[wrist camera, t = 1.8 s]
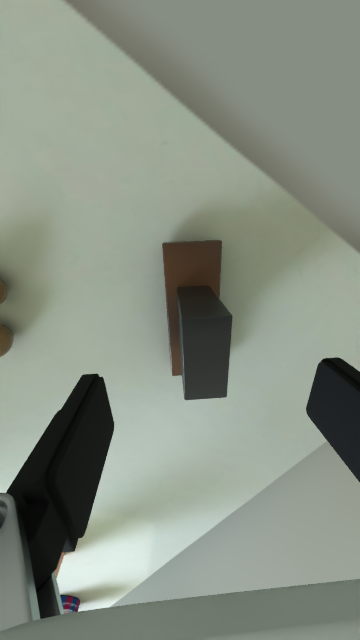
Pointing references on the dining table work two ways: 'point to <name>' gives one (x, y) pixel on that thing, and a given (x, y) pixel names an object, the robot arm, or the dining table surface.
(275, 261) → the dining table surface
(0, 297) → the crumb
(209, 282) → the brush
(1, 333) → the crumb
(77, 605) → the mug
